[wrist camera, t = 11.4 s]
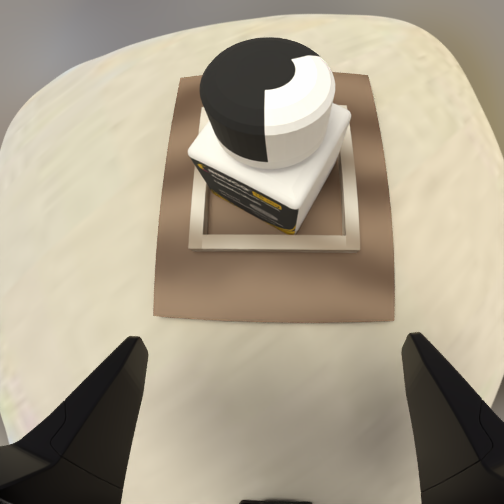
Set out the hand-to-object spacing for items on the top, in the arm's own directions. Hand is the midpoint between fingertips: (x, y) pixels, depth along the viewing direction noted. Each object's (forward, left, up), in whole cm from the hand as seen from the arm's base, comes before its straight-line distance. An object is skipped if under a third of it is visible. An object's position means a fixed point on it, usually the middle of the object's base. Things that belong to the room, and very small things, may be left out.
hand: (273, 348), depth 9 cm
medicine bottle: (+11, 0, -12) cm, 16 cm away
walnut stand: (+11, 0, -13) cm, 17 cm away
